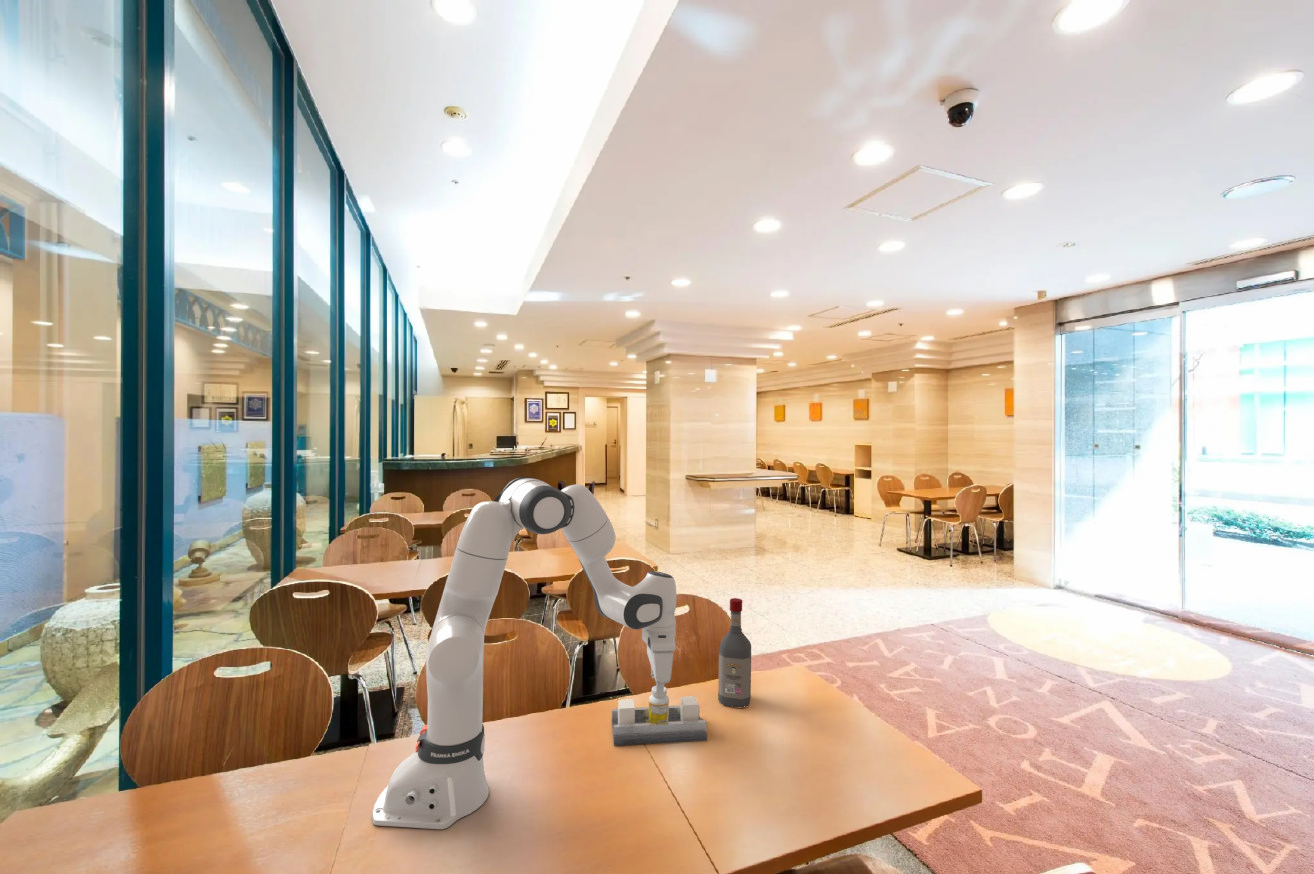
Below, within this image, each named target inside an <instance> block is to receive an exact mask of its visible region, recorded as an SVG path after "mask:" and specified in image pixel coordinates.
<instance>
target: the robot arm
mask: <svg viewBox="0 0 1314 874" xmlns="http://www.w3.org/2000/svg"><path fill="white" fill-rule="evenodd" d="M523 529H525V530H527V531H529V532H530V533H533V534H536V535H548V534H552V533H554V532H556V531H558V530H560V529H561V530H562V533H563V534H564V536H565V538H566V540H567V542H568V543H569V545H570V547H571V548H572V550H573V551H574V553H575V555H576V557H577V558H578V561H579V564H580V566H581V567H582V570H583V571H584V574H585V575H586V577H587V580H588V582H589V584H590V586H591V588H592V592H593V597H594V598H593V599H594V605H595V609H596V610H597V612H598V614H600V615H601V616H602V617H603V618H606V619H610V620H613V621H615V622H616V623H618V624H621V625H623V626H624V627H627V628H628V629H632V630H641V631H642V632H641V639H642V641H643V642H644V643H645V644H646V655H647V658H648V660H649V663H650V676H651V678H652V679H654V680H655V683H656V685H655V686H656V693H657V694H658V695H662V694H663V692H664V687H665V684H669V683H670V681H671V678H672V671H673V664H674V663H673V660H674V652H675V651H676V649H677V648H676V647H677V646H676V645H677V644H676V643H677V642H676V629H677V627H676V625H677V624H676V623H677V620H676V617H675V612H676V610H677V609H676V608H677V585H676V581H675V577H673V576H672V575H671V574H668V573H666V572H661V571H654V570H653V571H652V570H651V571H647V573H646V575H645V577H644V578H643V579H642V580H641V581H640V582H638V583H637V584H635V585H633V586H631V585H628V584H626V583H625V582H623V581H621V580H619V579H617V578H616V577H615V576H614V574H613V572H612V570H611V568H610V566H609V563H608V562H607V560H606V559H607V558H606V556H607V555H608V554H609V553H610V552H611V551H612V549H614V545H615V544H616V540H617V539H616V538H617V536H616V532H615V529H614V527H613V524H612V522H611V520H610V518H609V516H608V515H607V513H606V512H605V510H604V508H603V507H602V505H601V503H600V502H599V501H598V499H597V498H596V497H595V495H594V494H593V493H592V492H591V491H590V490H589V488H587V487H586V486H585V485H582V484H578V483H577V484H571V485H568V486H565V487H564V488H562V489H561V490H560V489H558V488H556V487H554V486H551V485H550V484H549V483H547V482H545V481H543V480H540V479H537V478H534V477H531V476H530V477H529V476H523V477H522V476H521V477H516V478H514V479H513V480H511V481H509V482H508V483H507V485H505V487H503V489H502V491H501V492H500V493H499V494H498V495H496V497H495V498H494V500H492V501H491V500H490V501H489V500H488V501H486V500H485V501H482V502H479V503H478V504H476V505H474V507H473V508H472V509H471V510H470V513H469V515H468V517H467V519H466V520H465V522H464V525H463V527H462V530H461V532H460V535H459V538H458V541H457V542H456V543H457V544H456V547H455V551H454V554H453V557H452V561H451V564H450V569H449V571H448V575H447V577H446V581H445V585H444V588H443V592H442V596H441V599H440V602H439V606H438V609H437V611H436V615H435V619H434V623H433V625H432V630H431V633H430V636H429V640H428V643H427V646H426V651H425V669H426V673H425V674H426V677H425V678H426V691H427V692H426V693H427V719H426V720H427V722H426V723H427V724H424V725H423V727H422V728H421V730H420V732H419V736H418V738H417V740H416V744H415V751H414V752H413V753H412V754H410V756H408V757H406V758H405V759H404V760H403V761H401V762H400V763H399V764H398V766H396V768H395V770H394V771H393V772H392V775H391V776H390V779H389V781H388V784H387V786H386V787H385V788H384V789H383V790H382V792H381V793H380V794H379V796H378V797H377V798H376V802H375V803H374V806H373V810H372V813H371V821H372V824H373V825H374V826H381V827H382V826H383V827H398V828H401V827H402V828H415V829H416V828H417V829H428V830H429V829H430V830H445V829H447V828H449V827H451V826H452V825H453V824H455V822H457V820H459V819H461V818H464V817H466V816H468V815H471V814H472V813H474V812H475V811H476V810H478V809H479V808H480V807H481V806H482V805H484V803H485V802H486V800H487V799H488V797H489V794H490V790H489V789H490V787H489V785H488V782H487V779H486V778H487V777H486V773H485V772H486V771H485V766H484V753H485V745H486V744H485V742H486V738H485V737H486V735H485V725H484V723H483V712H484V711H483V707H484V706H483V704H484V702H483V701H484V658H485V657H484V656H485V654H484V653H485V652H484V651H485V635H486V634H485V633H486V628H487V624H488V621H489V618H490V615H491V613H492V609H493V607H494V604H495V601H496V598H497V596H498V595H499V594H498V593H499V590H500V586H501V582H502V579H503V575H504V572H505V569H506V566H507V561H508V558H509V554H510V551H511V546H512V543H513V541H514V539H515V537H516V536H517V535H518V533H519V532H520V531H521V530H523Z"/></svg>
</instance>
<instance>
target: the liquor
mask: <svg viewBox="0 0 1314 874" xmlns="http://www.w3.org/2000/svg"><path fill="white" fill-rule="evenodd" d="M729 611H730V622H729V624H730V627H729V631H728V632H727V633H726V634H725V635H724V636H723V637H722V639H721V641H720V645H719V648H718V682H717V683H718V685H717V686H718V687H717V688H718V689H717V690H718V693H717V698H718V699H717V700H718V702H719V704H721V705H722V704H723V707H727V706H733V707H732V708H734V707H744V706H748V707H749V705H750V703H751V691H752V690H751V689H752V685H751V684H752V683H751V682H752V643H751V640H749V639H748V637H747V636H746V635H745V633H744V632H743V631H742V611H743V599H741V598H737V597H731V598H730V599H729ZM744 708H745V707H744Z"/></svg>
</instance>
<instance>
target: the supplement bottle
mask: <svg viewBox="0 0 1314 874" xmlns="http://www.w3.org/2000/svg"><path fill="white" fill-rule="evenodd" d="M667 689H668V688H667V687H665V686H664V692H663V694H662V695H658V694H657V693H656V685H654V686H652V687H651V695H650V696H649V697H648V707H649V723H657V722H669V706H670V698H669V696H668V695H667V694H668V692H667Z"/></svg>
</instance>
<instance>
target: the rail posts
mask: <svg viewBox="0 0 1314 874" xmlns="http://www.w3.org/2000/svg"><path fill="white" fill-rule="evenodd" d="M617 702H618V703H617V709H618V725H619V724H635V708H636V706H635V700H634V698H630V699H628V698H625V699H618V701H617ZM680 705H681V713H680V719H681V721H694V720H699V716H700V704H699V701H698V700H697V697H696V696H695V695H693V696H692V695H691V696H690V695H689V696H687V695H686V696H680Z"/></svg>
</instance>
